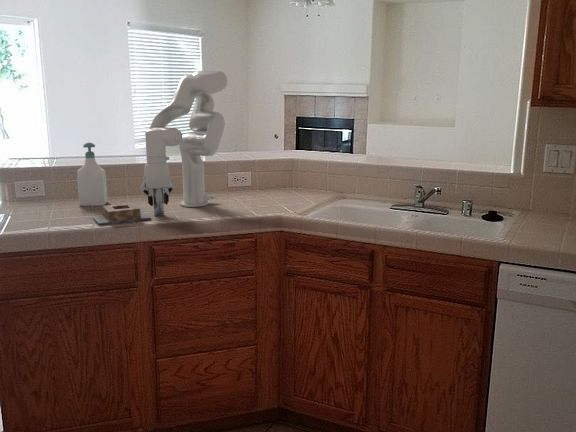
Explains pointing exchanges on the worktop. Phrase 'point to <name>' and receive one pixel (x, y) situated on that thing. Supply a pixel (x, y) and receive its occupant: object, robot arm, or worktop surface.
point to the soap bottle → (91, 181)
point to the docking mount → (120, 214)
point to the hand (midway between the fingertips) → (158, 204)
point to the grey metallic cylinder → (158, 202)
